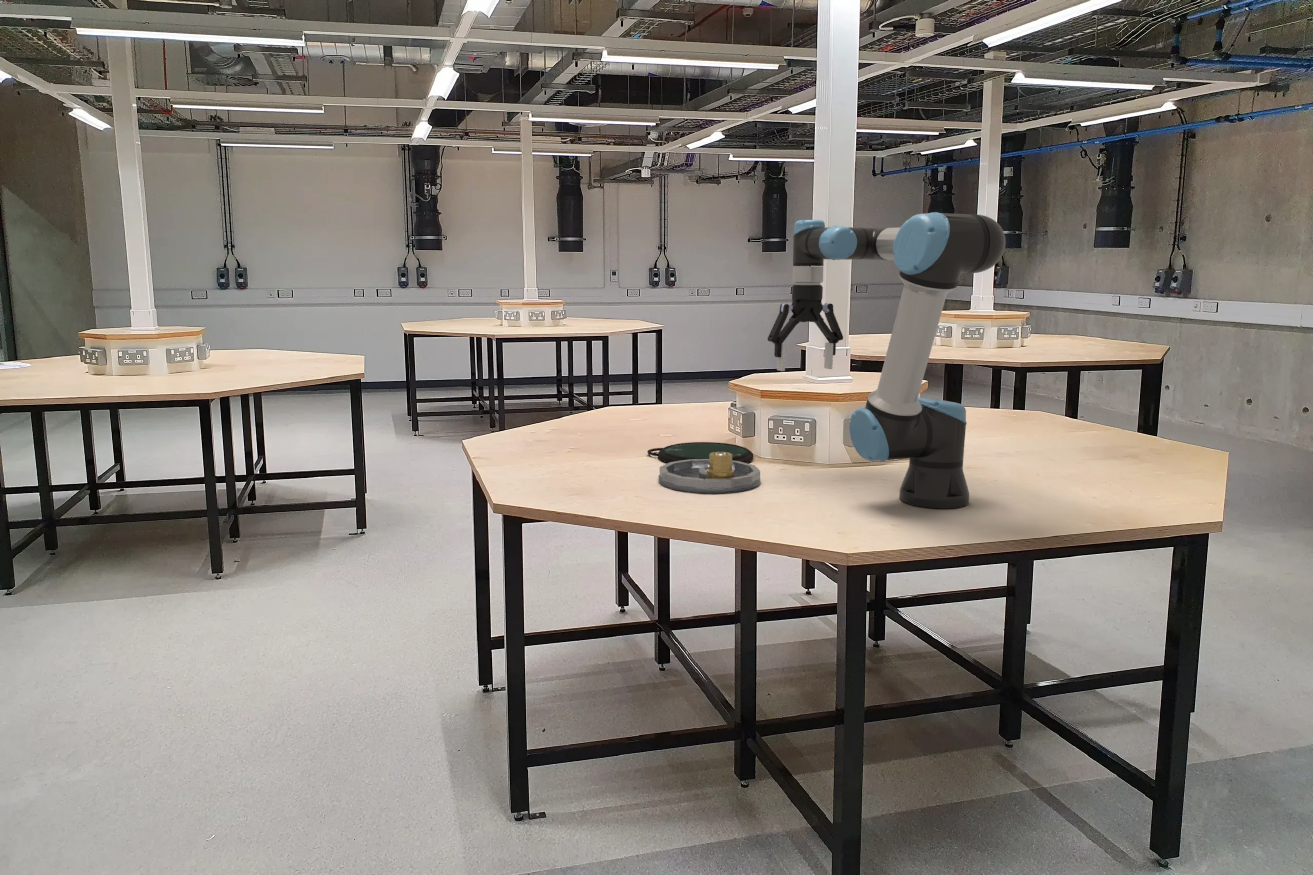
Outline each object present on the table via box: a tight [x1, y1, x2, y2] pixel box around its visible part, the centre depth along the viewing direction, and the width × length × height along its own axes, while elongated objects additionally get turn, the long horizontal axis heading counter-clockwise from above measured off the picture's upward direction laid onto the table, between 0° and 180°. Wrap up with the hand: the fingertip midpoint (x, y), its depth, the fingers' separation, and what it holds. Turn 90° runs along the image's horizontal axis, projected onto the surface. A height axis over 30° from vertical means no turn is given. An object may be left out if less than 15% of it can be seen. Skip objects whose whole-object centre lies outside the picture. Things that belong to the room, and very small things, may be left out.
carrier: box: [658, 453, 761, 495], centre depth 227 cm, size 25×25×8 cm
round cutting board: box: [647, 441, 754, 464], centre depth 256 cm, size 26×3×30 cm
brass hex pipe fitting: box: [707, 452, 734, 479], centre depth 221 cm, size 6×6×7 cm
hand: (804, 369), depth 232 cm, fingers open, 13 cm apart
